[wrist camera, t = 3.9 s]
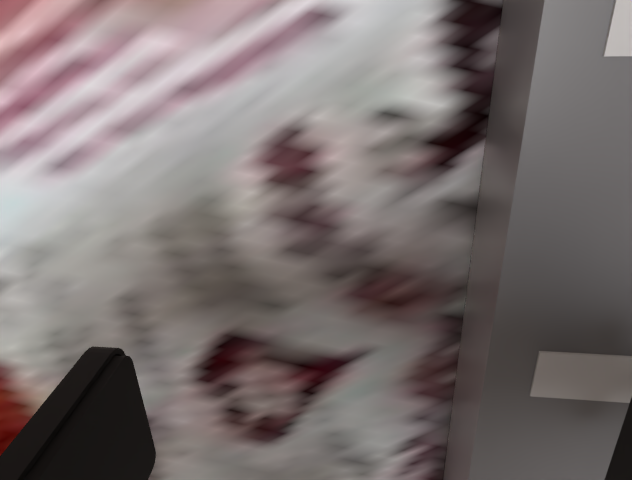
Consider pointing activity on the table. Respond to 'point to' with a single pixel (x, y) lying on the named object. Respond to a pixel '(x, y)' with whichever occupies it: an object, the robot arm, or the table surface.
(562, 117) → the power strip
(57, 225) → the table surface
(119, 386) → the robot arm
